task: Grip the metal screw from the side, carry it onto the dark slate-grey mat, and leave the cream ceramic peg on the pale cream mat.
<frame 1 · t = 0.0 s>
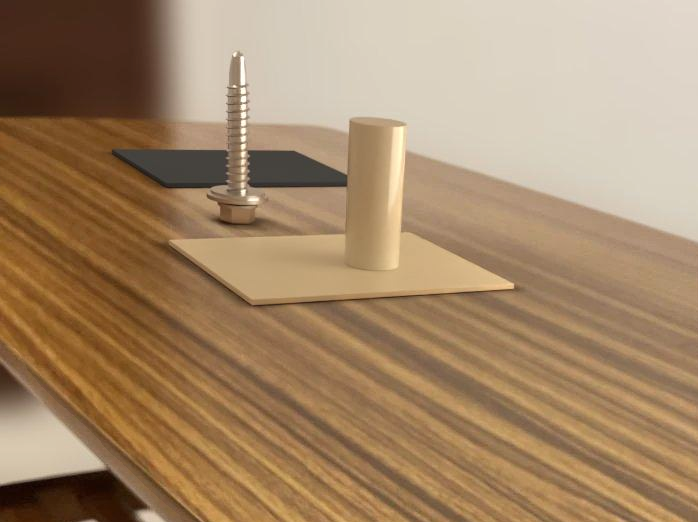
cream mat: (340, 266, 90), on the table
slate mat: (236, 169, 119), on the table
screw: (237, 223, 100), on the table
cream peg: (371, 263, 90), resting on cream mat
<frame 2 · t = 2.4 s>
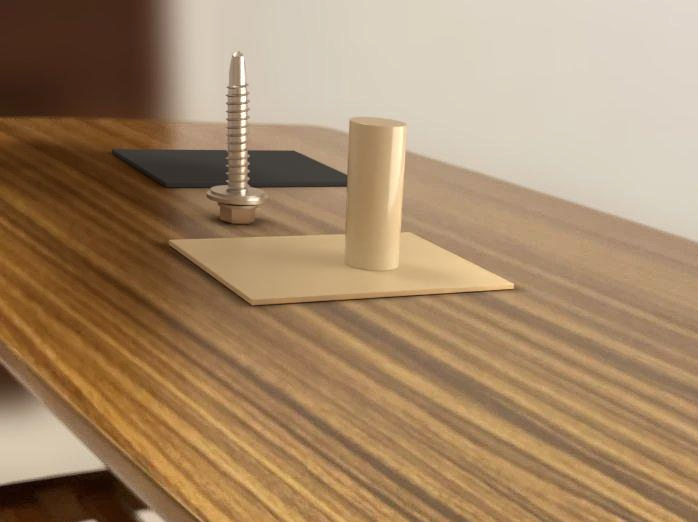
nothing on the table moved.
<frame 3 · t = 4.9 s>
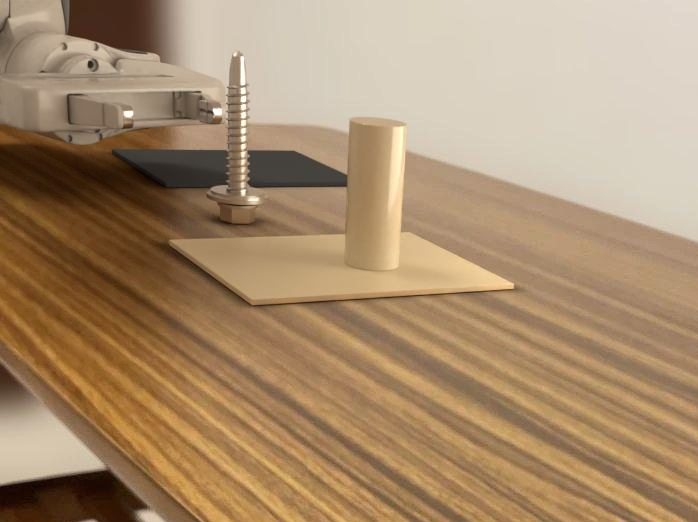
hand: (174, 116, 101), 7 cm above the table, tool horizontal, fingers open, 8 cm apart
nothing on the table moved.
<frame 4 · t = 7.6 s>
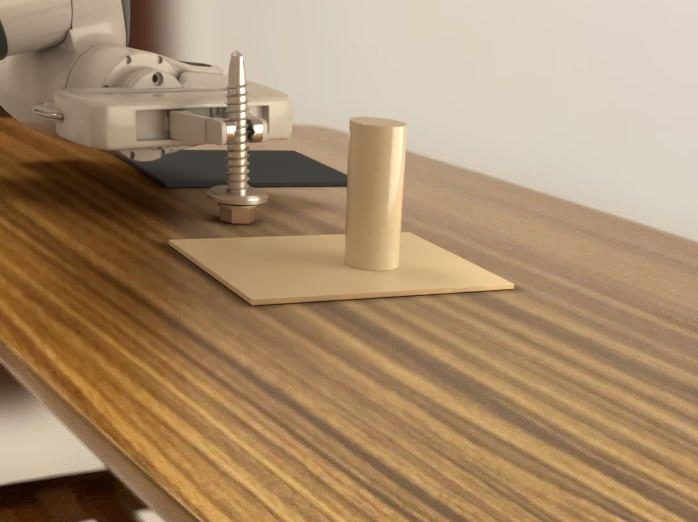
hand: (245, 132, 96), 7 cm above the table, tool horizontal, fingers closed on screw, 2 cm apart
screw: (237, 223, 100), on the table, touching gripper
everything else where it was.
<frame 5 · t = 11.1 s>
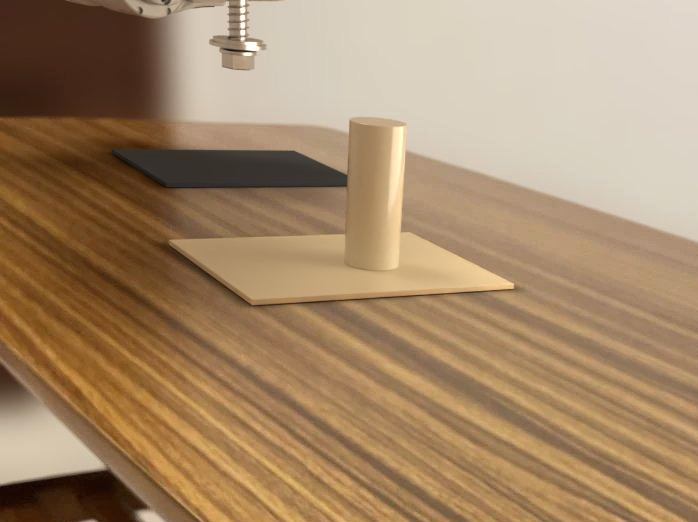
screw: (238, 70, 107), point 10 cm above the table, touching gripper
everything else where it was.
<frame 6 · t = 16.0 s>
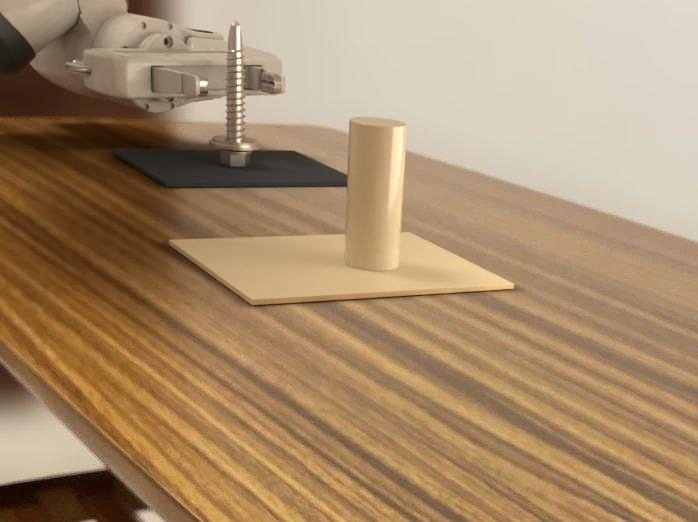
hand: (242, 85, 115), 8 cm above the table, tool horizontal, fingers open, 8 cm apart
screw: (235, 167, 119), resting on slate mat
everything else where it was.
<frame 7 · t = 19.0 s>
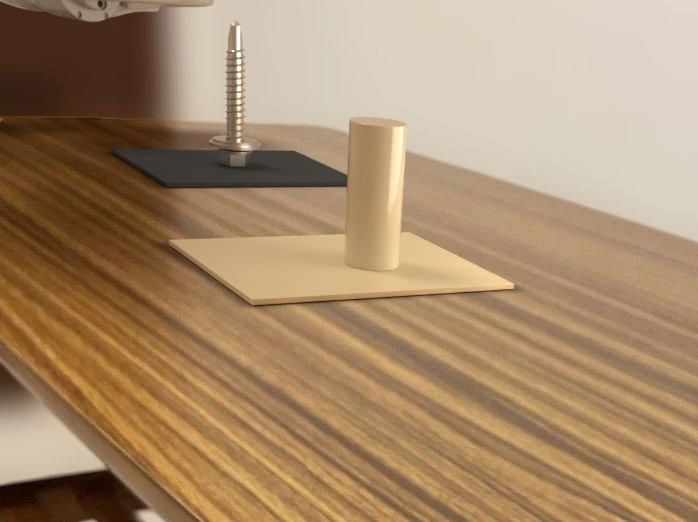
nothing on the table moved.
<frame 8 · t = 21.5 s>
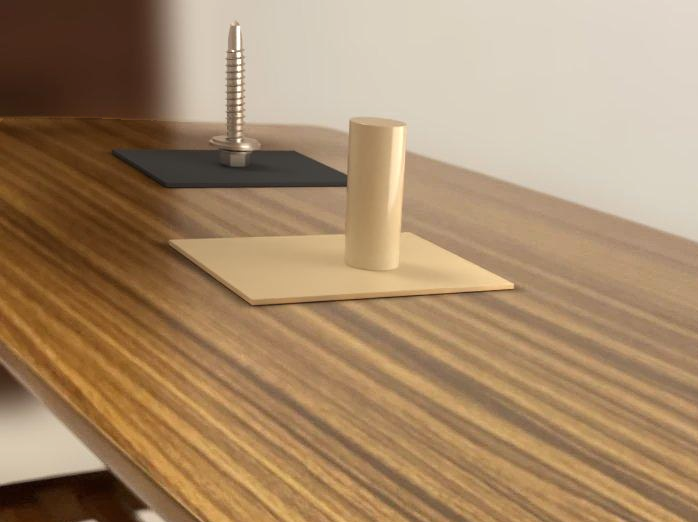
nothing on the table moved.
at the end: screw inside the target area on the slate mat (0.1 cm from its centre), point 0.2 cm above the slate mat's base; screw tilted 0°; cream peg moved 0.0 cm from its start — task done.
